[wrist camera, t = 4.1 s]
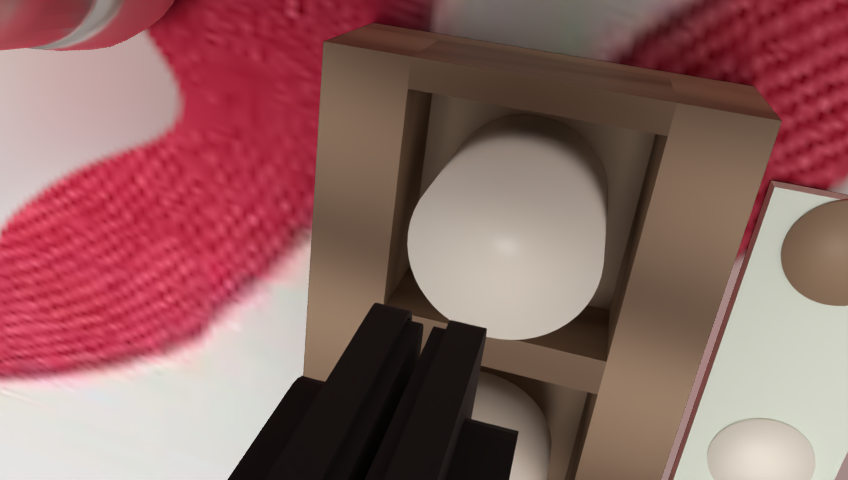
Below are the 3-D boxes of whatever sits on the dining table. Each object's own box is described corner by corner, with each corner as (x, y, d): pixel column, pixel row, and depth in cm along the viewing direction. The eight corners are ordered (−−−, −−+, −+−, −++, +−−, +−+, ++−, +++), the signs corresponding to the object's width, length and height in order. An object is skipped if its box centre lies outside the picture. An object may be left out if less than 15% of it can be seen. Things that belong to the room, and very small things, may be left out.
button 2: (458, 100, 21) (419, 140, 17) (626, 131, 20) (625, 181, 16) (437, 249, 23) (397, 315, 19) (588, 282, 22) (580, 359, 18)
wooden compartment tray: (373, 22, 22) (323, 41, 18) (754, 86, 20) (782, 120, 16) (325, 566, 32) (286, 648, 28) (578, 645, 30) (571, 743, 26)
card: (772, 177, 21) (776, 185, 20) (947, 209, 20) (959, 219, 19) (622, 613, 28) (622, 630, 28) (745, 650, 28) (747, 668, 27)
